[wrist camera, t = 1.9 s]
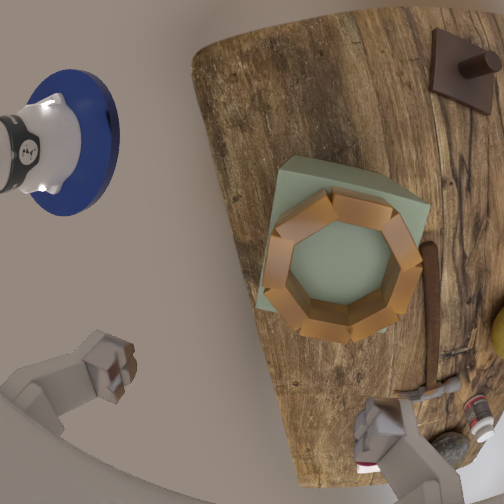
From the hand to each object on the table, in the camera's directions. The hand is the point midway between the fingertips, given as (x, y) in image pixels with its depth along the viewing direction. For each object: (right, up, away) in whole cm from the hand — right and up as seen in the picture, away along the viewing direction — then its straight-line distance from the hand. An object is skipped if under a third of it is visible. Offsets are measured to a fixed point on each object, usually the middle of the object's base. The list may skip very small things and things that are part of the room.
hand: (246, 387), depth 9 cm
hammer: (+27, -8, +30) cm, 41 cm away
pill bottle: (+46, -27, +33) cm, 63 cm away
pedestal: (+10, +10, +26) cm, 30 cm away
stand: (+26, +27, +15) cm, 41 cm away
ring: (+7, +4, +12) cm, 14 cm away
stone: (+45, -41, +40) cm, 73 cm away
